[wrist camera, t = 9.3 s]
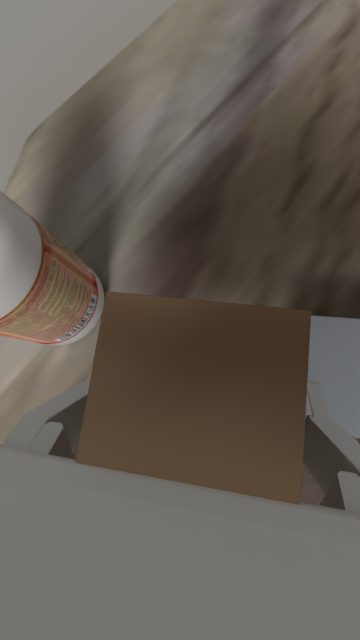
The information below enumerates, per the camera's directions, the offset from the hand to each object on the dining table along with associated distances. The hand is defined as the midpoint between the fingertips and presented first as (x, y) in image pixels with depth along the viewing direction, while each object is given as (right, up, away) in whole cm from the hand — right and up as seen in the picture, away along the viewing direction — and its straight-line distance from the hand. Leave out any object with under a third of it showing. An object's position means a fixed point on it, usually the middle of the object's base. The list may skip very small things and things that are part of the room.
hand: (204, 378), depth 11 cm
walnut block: (+1, -2, +5) cm, 5 cm away
